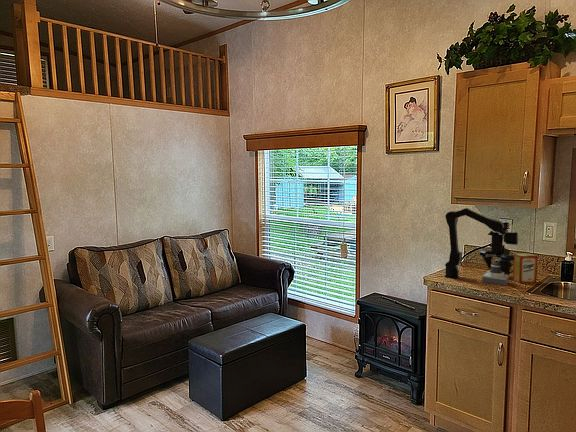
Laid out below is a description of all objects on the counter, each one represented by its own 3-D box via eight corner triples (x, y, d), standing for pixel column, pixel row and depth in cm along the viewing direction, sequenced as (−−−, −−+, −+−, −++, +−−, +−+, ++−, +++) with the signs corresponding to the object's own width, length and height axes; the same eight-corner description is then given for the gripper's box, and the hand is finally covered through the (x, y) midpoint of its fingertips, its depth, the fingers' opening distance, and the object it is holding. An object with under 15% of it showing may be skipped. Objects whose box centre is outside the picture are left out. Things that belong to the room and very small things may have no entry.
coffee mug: (491, 275, 250) (492, 259, 249) (502, 274, 253) (502, 258, 252) (507, 280, 239) (508, 263, 238) (518, 278, 242) (519, 262, 241)
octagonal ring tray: (482, 282, 235) (482, 272, 234) (485, 279, 242) (486, 269, 241) (505, 285, 227) (506, 275, 227) (508, 282, 234) (509, 271, 234)
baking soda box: (519, 283, 232) (520, 255, 230) (513, 280, 238) (514, 253, 237) (536, 283, 232) (537, 255, 231) (529, 280, 239) (530, 253, 237)
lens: (496, 276, 231) (496, 264, 230) (488, 274, 236) (489, 262, 235) (503, 276, 233) (503, 263, 232) (495, 274, 238) (495, 261, 237)
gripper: (522, 244, 227) (520, 272, 228) (493, 240, 244) (492, 265, 245) (507, 246, 223) (506, 274, 224) (479, 241, 240) (478, 267, 241)
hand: (495, 270), depth 234 cm, fingers open, 8 cm apart
